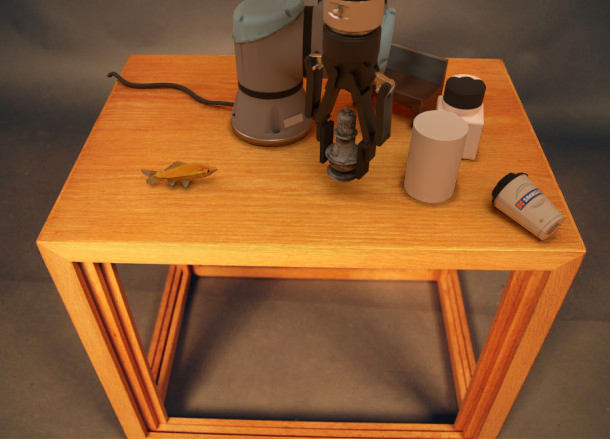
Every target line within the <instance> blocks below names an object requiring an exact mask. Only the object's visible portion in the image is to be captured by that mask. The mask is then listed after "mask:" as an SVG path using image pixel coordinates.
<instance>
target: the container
mask: <svg viewBox="0 0 610 439" xmlns="http://www.w3.org/2000/svg"><path fill="white" fill-rule="evenodd" d="M486 91H487V85H486V83H485V81H484V80H483V79H482V78H480V77H478V76H476V75H472V74H467V73H459V74H454V75H451V76H450V77H448V78H447V79H446V80H445V83H444V90H443V94H442V96H439V97H438V100H437V106H436V110H439V111H447V112H451V113H454V114H456V115H458V116H460V117H461V118H463V119H464V120H465V121H466V122H467V124H468V127H469V129H468V134H467V138H466V142H465V146H464V151H463V155H462V159H461V160H470V161H474V160H476V157H477V153H478V150H479V145H480V141H481V138H482V134H483V130H484V126H485V114H484V98H485V95H486Z"/></svg>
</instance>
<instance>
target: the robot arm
mask: <svg viewBox="0 0 610 439" xmlns="http://www.w3.org/2000/svg"><path fill="white" fill-rule="evenodd" d="M396 15H397V9H396V8H394V7H392V6H388V0H317V5H305V2H304V0H243V1H242V2H240V3H239V4H238V5H237V6H236V7H235V9H234V11H233V14H232V36H231V37H232V40H233V46H234V48H233V49H234V59H235V67H236V79H237V90H236V95H235V98H234V101H225V100H211V99H206V98H203V97H202V96H199V95H198V94H197V93H195V92H194V91H193V90H191V89H190V88H188V87H186V86H185V85H182V84H178V83H174V82H149V83H147V82H145V83H139V82H132V81H128V80H126V79H125V78H123V77H122V76H121V75H120V74H119V73H118V72H116V71H110V72H109V73H108V74H107V75H106V78H112V77H114V78H115V79H117V81H119V82H120V83H121V84H123V85H124V86H126V87H129V88H136V89H150V88H173V89H178V90H180V91H183V92H185V93H187V95H189V96H190V97H192V98H193V99H194V100H196V101H197V102H199V103H201V104H204V105H209V106H222V107H231V108H232V110H231V115H230V116H231V117H230V124H231V129H232V132H233V133H234V135H235V136H236V137H238V138H239V139H240V140H242V141H244V142H246V143H248V144H251V145H254V146H259V147H272V148H273V147H282V146H287V145H292V144H294V143H297V142H298V141H300V140H302V139H304V138H306V137H307V136H308V134H310V132H311V131H312V129H313V126H314V124H315V139H316V142H318V143H319V156H318V157H319V158H318V159H319V161H318V163H319V164H322V165H325V164H326V163H327V162H328V159H327V157H326V154H325V151H326V149H327V147H328V146H329V145H331V144H333V143H334V141H335V140H334V136H335V134H334V129H335V121H334V120H332V119H331V117H332V116H333V114H332V113H333V110H334V108H335V105H336V102H337V100H338V97H339V95H340V92H341V90H344V91H346V92H348V93H349V94H350V96H351V100H352V103H353V102H355V105H356V107H355V109H356V116H357V120H358V124H359V128H360V133H361V138H362V139H361V140H360V141H359V142H358V143H357V145H358V150H357V163H356V175H355V178H356V179H355V180H358V181H360V180H361V179H362V178H364V177H365V175H366V174H368V172H370V162H371V161H372V160H373V159H374V158H375V157H376V151H377V147H382V146H383V145H384V144H385V143H386V142H387V141H388V140H389V139H390V138H391V134H392V132H391V131H392V116H393V103H394V102H393V92H394V90H395V88H396V85H397V83H398V80H397V78H396V77H394V76H392V77H391V78H388V77H386V76H385V75H383V73H384V72H385V69H386V65H387V61H388V57H389V53H390V48H391V43H393V37H394V31H395V25H396V18H397V16H396ZM304 79H306V80H305V87H304ZM323 80H326V82H325V86H324V92H323V95H322V91H323V82H324V81H323ZM373 81H375V83H376V90H375V91H376V92H377V93H378V94H377V96H376V98H375V107H374V102H373V96H371V95H372V85H371V83H372V82H373Z"/></svg>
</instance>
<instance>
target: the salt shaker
mask: <svg viewBox="0 0 610 439" xmlns="http://www.w3.org/2000/svg"><path fill="white" fill-rule="evenodd" d="M357 120H358V115H357V112H355V110H353V109H352V108H350V106H349V104H346V105H345V106H344V108H342V109H340V110H339V111H338V112H337V113H336V127H334V136H335V140H334V142H333V144H331V145H329V146H328V147H327V149H326V151H325V154H326V157H327V159H328V161H327V162H328V165H327V166H326V174H327V176H328V177H329V178H330V179H332V180H333V181H337V182H341V183H348V182H349V183H350V182H353V181H355V180H357V179H356V178H355V175H356V163H357V150H358V143H356V140H357V139H356V138H357V137H358V135H359V131H358V129H357Z"/></svg>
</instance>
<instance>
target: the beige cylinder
mask: <svg viewBox="0 0 610 439" xmlns="http://www.w3.org/2000/svg"><path fill="white" fill-rule="evenodd" d="M411 129H412V130H411V134H410V135H411V136H410V142H409V149H408V155H407V162H406V167H405V175H404V182H403V189H404V190H405V192H406V193H407V194H408V195H409V196H410V197H411V198H412V199H414V200H417V201H418V202H422V203H426V204H427V203H428V204H439V203H443V202H447V201H448V200H449V199H450V198H452V196H453V195H454V192H455V188H456V185H457V180H458V175H459V171H460V167H461V163H462V160H463V159H462V155H463V151H464V146H465V142H466V138H467V134H468V129H469V127H468V124H467V122H466V121H465V120H464V119H463V118H461V117H460V116H458V115H456V114H454V113H451V112H447V111H439V110H433V111H426V112H423V113H421V114H419V115H418V116H416V118H415V119H414V122H413V128H411Z"/></svg>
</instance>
